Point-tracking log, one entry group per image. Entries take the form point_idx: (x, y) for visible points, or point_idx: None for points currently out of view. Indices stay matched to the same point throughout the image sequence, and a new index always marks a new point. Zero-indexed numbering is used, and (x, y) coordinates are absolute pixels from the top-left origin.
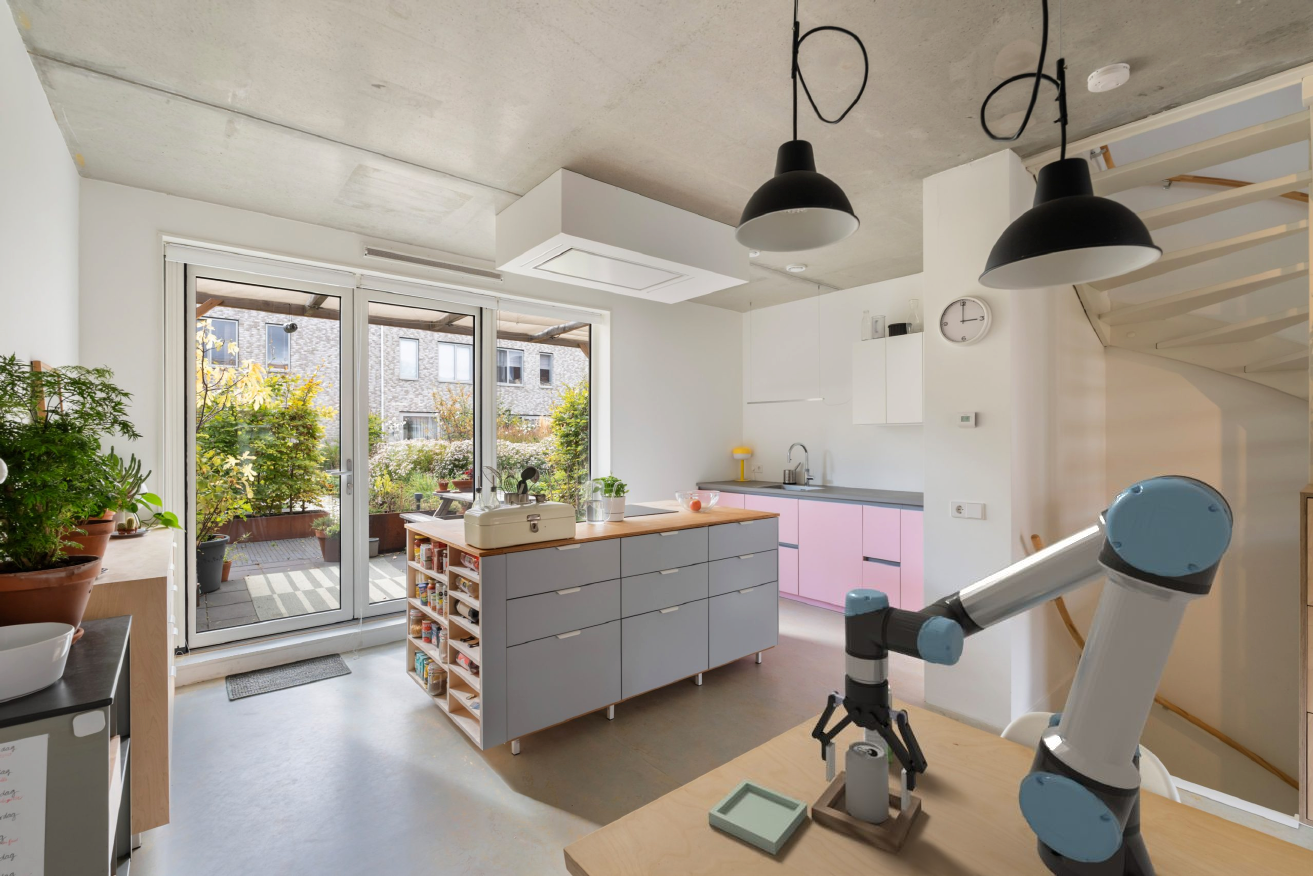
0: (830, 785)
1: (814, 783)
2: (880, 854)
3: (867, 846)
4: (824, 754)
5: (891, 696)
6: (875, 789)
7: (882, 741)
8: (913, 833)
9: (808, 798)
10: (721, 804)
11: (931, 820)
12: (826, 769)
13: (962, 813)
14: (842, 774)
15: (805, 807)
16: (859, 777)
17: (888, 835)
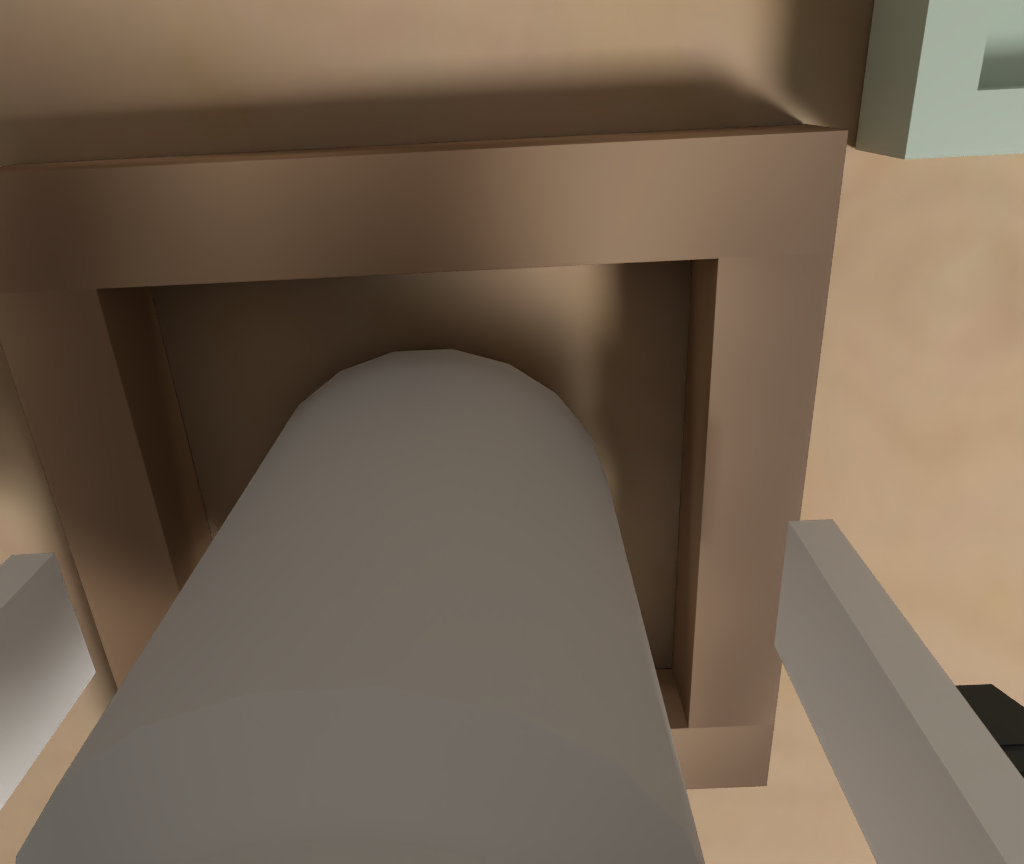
0: None
1: (918, 585)
2: (114, 68)
3: (247, 96)
4: (1015, 754)
5: None
6: (207, 560)
7: None
8: None
9: (911, 383)
10: None
11: (87, 689)
12: (884, 597)
13: (4, 843)
14: (745, 748)
15: (906, 107)
16: (360, 564)
17: (62, 225)
